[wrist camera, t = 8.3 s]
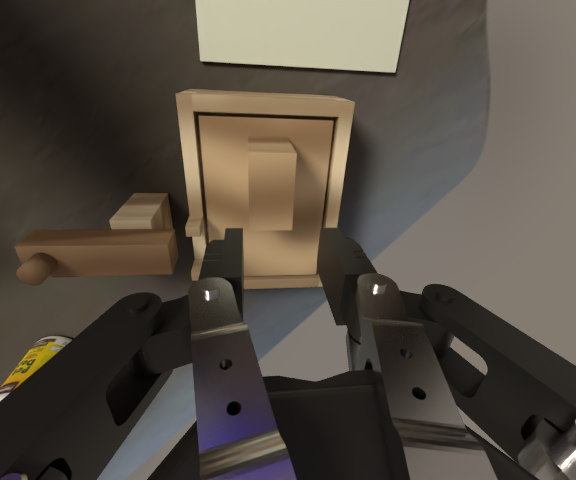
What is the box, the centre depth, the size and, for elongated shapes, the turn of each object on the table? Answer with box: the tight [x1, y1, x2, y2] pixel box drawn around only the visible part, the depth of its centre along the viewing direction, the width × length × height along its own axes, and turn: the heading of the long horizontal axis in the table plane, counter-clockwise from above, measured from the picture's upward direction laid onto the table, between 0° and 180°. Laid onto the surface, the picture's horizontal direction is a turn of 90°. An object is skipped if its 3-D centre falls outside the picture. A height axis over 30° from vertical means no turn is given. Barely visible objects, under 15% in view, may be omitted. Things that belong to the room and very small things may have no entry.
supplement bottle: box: [0, 336, 72, 401], centre depth 32 cm, size 6×6×10 cm
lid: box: [199, 114, 334, 276], centre depth 23 cm, size 13×9×6 cm
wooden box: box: [109, 89, 355, 289], centre depth 26 cm, size 16×18×8 cm
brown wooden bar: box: [14, 229, 179, 285], centre depth 22 cm, size 3×10×4 cm, turn 87°
